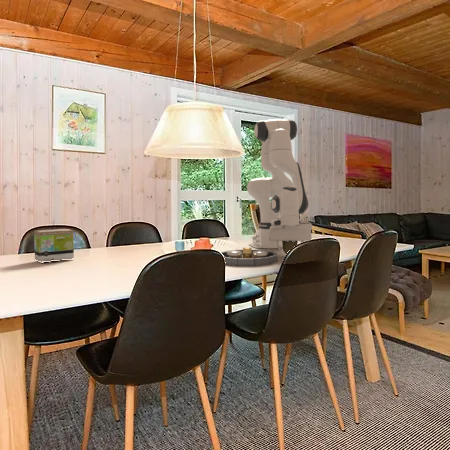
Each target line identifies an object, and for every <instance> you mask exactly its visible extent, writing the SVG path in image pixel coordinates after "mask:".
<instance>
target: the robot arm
mask: <svg viewBox="0 0 450 450" xmlns="http://www.w3.org/2000/svg"><path fill="white" fill-rule="evenodd" d="M253 130H254V136H255V139H256V140H257V141H259V142H261V151H260V152H261V153H260V165H261V168H262V169H263V171H266V172H267V173H270V174H271V177H258V178H253V179H250V180H249V181H248V182H247V186H246V187H247V188H246V189H247V193H248V195H249V196H251V198H253V199H254V200H255V201H256V203H257V204H258V207H259V212H260V213H259V214H260V221H259V222H258V229H257V231H256V232H255V233H253V236H252V237H251V238H252V242H250V243H248V246H250V247H251V248H252V247H253V248H256V249H277V251H282V249H283V245H282V241H298V242H300V244H301V243H302V242H304V243H305V242H309V241H308V240H310V241H311V240H312V230H313V223H311V222H310V221H308V220H305V221H304V220H300V215H302V214H305V212H306V211H307V210H308V208H309V200H308V197H307V194H306V189H305V185H304V180H303V176H302V171H301V167H300V163H299V162H298V161H296V160H295V158H294V156H293V149H292V148H293V147H292V140H294V139H295V138H296V137H297V135H298V127H297V123H296V121H295V120H294V119H293V120H292V119H279V118H276V119H268V120H266V119H265V120H264V119H261V120H259V121H258V120H257V122H256V124H255V126H254V129H253ZM285 173H286V174H287V175H289V176H290V177H291V179H290V178H289V177H288V176H287V175H286V174H285ZM270 198H271V200H270Z"/></svg>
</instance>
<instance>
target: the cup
mask: <svg viewBox="0 0 450 450" xmlns="http://www.w3.org/2000/svg"><path fill="white" fill-rule="evenodd" d="M298 242H299V241H282V245H283V247H282V251H283V253H284V254H287V252H288V251H289V250H291V249H292V248H293V247H294V246H296V245H297V246H298V245H299V244H298Z"/></svg>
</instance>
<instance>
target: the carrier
mask: <svg viewBox="0 0 450 450" xmlns="http://www.w3.org/2000/svg"><path fill="white" fill-rule="evenodd" d="M221 253H222V254H223V255H224V258H225V262H226V266H235V267H257V266H258V267H260V266H268V264H269V265H272V263H273V264H275V262H276V263H277V262H278V254H277V252H275V251H271V250H264V249H263V250H262V249H252V247H251V246H250V247H249V246H247V247H242V249H234V250H233V249H232V250H224V251H221Z"/></svg>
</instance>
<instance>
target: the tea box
mask: <svg viewBox="0 0 450 450" xmlns="http://www.w3.org/2000/svg"><path fill="white" fill-rule="evenodd" d="M33 242H34V243H33V245H34V247H33V249H34V260H35V259H36V260H38V261H41V262H42V261H51V260H62V259H72V258H74V257H75V251H74V249H75V248H74V245H75V244H74V230H73V229H69V228H58V229H41V230H40V229H39V230H34V231H33ZM74 259H75V258H74Z"/></svg>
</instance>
